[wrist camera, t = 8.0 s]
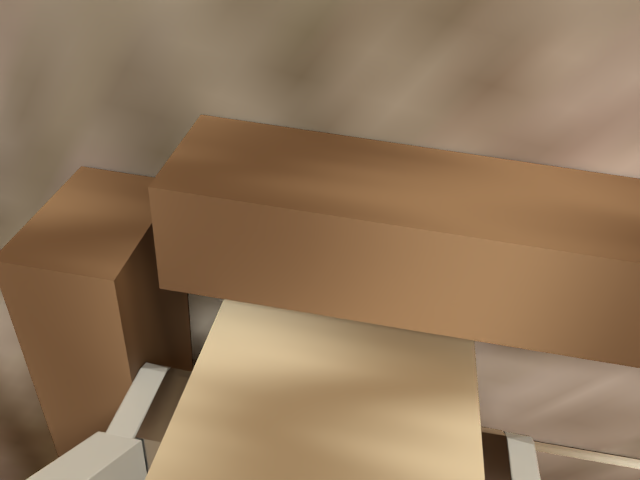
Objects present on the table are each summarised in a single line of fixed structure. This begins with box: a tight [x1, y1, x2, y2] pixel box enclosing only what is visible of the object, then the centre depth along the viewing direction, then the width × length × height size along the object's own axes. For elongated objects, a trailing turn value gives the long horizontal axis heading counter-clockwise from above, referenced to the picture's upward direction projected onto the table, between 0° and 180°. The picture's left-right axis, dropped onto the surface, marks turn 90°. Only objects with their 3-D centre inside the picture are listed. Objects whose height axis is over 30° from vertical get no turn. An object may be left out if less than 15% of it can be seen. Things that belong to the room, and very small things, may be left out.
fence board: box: [0, 115, 640, 469], centre depth 11 cm, size 20×8×3 cm, turn 85°
